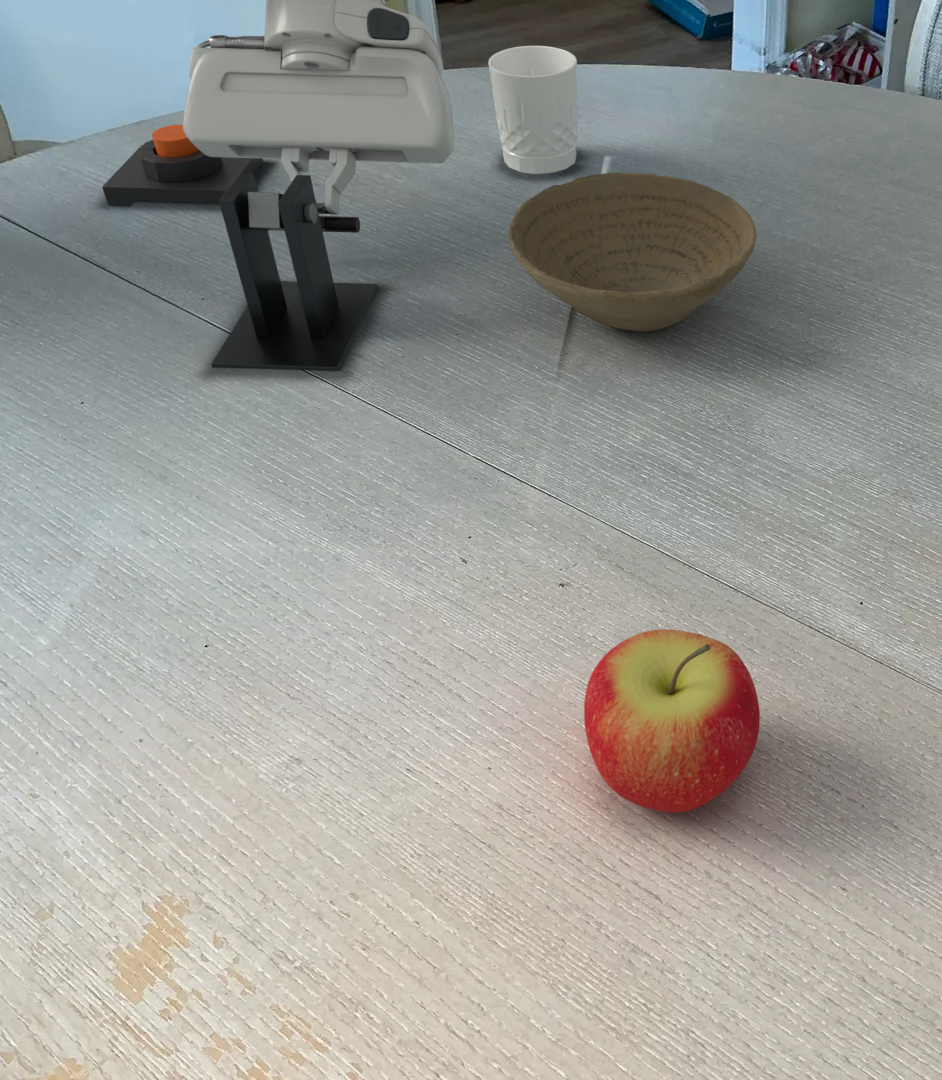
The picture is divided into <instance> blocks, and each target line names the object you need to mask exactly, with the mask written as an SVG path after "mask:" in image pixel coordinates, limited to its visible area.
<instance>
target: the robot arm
mask: <svg viewBox="0 0 942 1080" xmlns="http://www.w3.org/2000/svg"><path fill="white" fill-rule="evenodd" d="M264 19H265V21H264V34H263V35H241V36H229V35H225V34H214V35H211V36H209V38H208V40H204V41H202V42H200V43H199V44H198V45H197V46H196V47H194V48H193V49H192V51H191V53H190V58H189V79H190V80H189V85H188V88H187V94H186V99H185V104H184V111H183V119H182V125H183V130H184V133H185V134H186V136H187V137H188V139H189V140H190V141H191V142H192V143H193V144H194V145H195V146H196V147H197V148H198V149H199V150H200V151H201V152H203V153H204V154H205V155H207V156H209V157H228V158H263V159H264V160H265V159H269V160H275V159H276V160H280V162H281V164H282V166H283V168H284V170H285V172H286V174H287V175H288V177H289V180H290V181H291V182H292V181H293V179H294V178H295V176H296V175H303V174H302V173H308V172H309V167H310V161H311V160H312V161H328V162H329V164H330V165H331V166H332V167H333V169H332V170H331V172H330V174H329V175H328V177H327V178H326V180H325V182H324V184H322V185H321V184H320V185H318V184H314V185H313V184H312V186H313V190H314V195H315V199H316V204H317V208H318V213H319V215H339V212H340V195H341V194H342V193H343V192H344V191H345V189H346V187H347V186H348V185H349V184H350V182H351V181H352V179H353V178H354V176H355V175H356V165H357V164H356V163H357V162H373V163H374V162H375V163H377V162H379V163H411V164H413V163H414V164H443V163H444V162H445V161H447V159H448V158H449V157H450V156H451V154H452V153H453V151H454V143H455V142H454V140H455V139H454V138H455V137H454V135H455V133H454V130H455V129H454V115H453V107H452V100H451V96H450V91H449V90H448V88H447V86H446V83H445V82H444V80H443V77H442V75H443V71H444V63H443V56H442V53H441V51H440V48H439V47H440V46H439V45H438V44H437V41H436V39H435V37H434V36H433V34H432V32H431V31H430V29H429V28H428V26H427V25H426V23H425V22H424V21H423V20H422V19H420V18H418V17H417V16H414V15H411V14H408V13H405V12H402V11H399V10H397V9H394V8H391V7H388V6H386V1H385V0H265V18H264Z"/></svg>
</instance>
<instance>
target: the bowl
mask: <svg viewBox="0 0 942 1080" xmlns="http://www.w3.org/2000/svg"><path fill="white" fill-rule="evenodd" d="M757 234H758V233H757V229H756V226H755V222H754V220H753V218H752V216H751V215H750V214H749V213H748V211H746V210H745V208H744V207H743V206H742V205H741V204H740V203H738V202H737V201H736V200H735V199H734V198H732V197H731V196H728V195H726V194H725V193H723V192H722V191H719V190H716V189H713V188H712V187H709V186H708V185H707V186H706V185H703V184H701V183H698V182H696V181H694V180H689V179H685V178H680V177H674V176H669V175H659V174H655V173H646V172H645V173H644V172H643V173H642V172H604V173H598V174H593V175H592V174H591V175H585V176H580V177H576V178H574V179H573V180H570V181H568V182H565V183H561V184H553V185H551V186H549V187H545V189H543V190H541V191H540V192H538V193H537V194H535V195H534V196H532V197H529V198H528V199H527V200H525V201H523V202H522V204H521V205H520V206H519V207H518V208H517V209H516V211H515V213H514V216H513V218H512V219H511V221H510V222H509V228H508V232H507V237H508V242H509V247H510V250H511V252H512V254H513V256H514V257H515V259H516V261H517V262H518V263H519V265H520V266H521V267H522V268H523V270H525V272H526V273H527V274H528V275H529V277H531V278H532V279H533V281H535V282H536V283H537V284H538V285H539V286H540V287H541V288H543V289H545V290H546V291H547V292H548V293H550V294H551V295H553V296H555V297H556V298H558V299H560V300H561V301H563V302H564V303H566V304H568V305H569V306H571V307H573V308H574V309H575V310H577V311H578V312H579V313H580V314H582V315H583V316H585V317H586V318H588V319H590V320H592V321H593V322H596V323H598V324H601V325H604V326H608V327H612V328H615V329H620V330H626V331H631V332H632V331H633V332H655V331H660V330H664V329H666V328H668V327H670V326H672V325H675V324H677V323H679V322H680V321H682V320H684V319H685V318H687V317H688V316H690V315H691V314H693V313H694V312H695V311H696V310H697V309H698V308H700V307H701V306H702V305H704V304H705V303H706V302H708V301H709V300H710V299H712V298H713V297H714V296H716V294H718V293H719V292H721V290H723V289H724V288H725V287H726V286H728V285H729V284H730V283H731V282H732V281H733V280H734V279H735V278H736V277H737V275H739V273H740V272H741V271H742V270H743V268H744V267H745V265H746V264H747V262H748V261H749V259H750V258H751V256H752V254H753V253H754V250H755V247H756V242H757Z"/></svg>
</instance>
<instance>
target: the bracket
mask: <svg viewBox="0 0 942 1080" xmlns="http://www.w3.org/2000/svg"><path fill="white" fill-rule="evenodd" d="M312 185H313V182H312V177H311V175H309V174H302V175H296V176H295V178H294V179H293V181H291V182H290V184H289V185H288V187H287V188H286V190H285V191H284V192H283V193H282V194H283V196H282V197H281V199H280V200H279V202H278V205H279V209H280V214H281V218H282V222H283V226H284V230H285V231H284V234H285V239H286V242H287V247H288V250H289V255H290V260H291V263H292V267H293V271H294V276H295V280H296V281H294V280H293V281H292V280H290V281H289V280H281V278H280V274H279V270H278V265H277V262H276V257H275V254H274V250H273V245H272V241H271V238H270V233H269V231H264V230H259V229H254V228H250V227H249V217H248V192H259V190H258V186H257V182H256V179H255V174H248V173H240V174H239V175H238V176H237V178H236V179H235V180H234V181H233V183H232V184H231V185H230V187H229V188H228V189H227V191H226V192H225V193H224V195H223V196H222V197H221V199H220V200H219V204H218V205H219V208H220V211H221V214H222V218H223V221H224V225H225V229H226V232H227V236H228V240H229V243H230V246H231V251H232V254H233V259H234V262H235V265H236V269H237V271H238V276H239V279H240V283H241V287H242V291H243V295H244V297H245V302H246V304H247V306H246V307H245V309H244V311H243V313H242V314H241V316H240V317H239V318H238V321H237V322H236V323H235V325H234V326H233V329H232V330H231V332H230V333H229V334H228V336H227V338H226V340H225V341H224V343H223V345H222V346H221V347H220V349H219V351H218V352H217V353H216V355H215V357H214V359H212V362H211V368H213V369H215V368H216V369H219V368H220V369H249V370H251V369H253V370H282V371H283V370H285V371H286V370H287V371H315V372H317V371H318V372H319V371H321V372H339V370H340V368H341V366H342V364H343V363H344V360H345V358H346V356H347V353H348V352H349V349H350V347H351V345H352V343H353V342H354V339H355V337H356V335H357V333H358V330H359V328H360V326H361V323H362V322H363V320H364V317H365V315H366V314H367V312H368V310H369V307H370V305H371V303H372V301H373V298H374V297H375V295H376V292H377V290H378V288H379V285H378V284H377V283H364V282H363V283H362V282H359V283H358V282H334V277H333V274H332V273H333V272H332V268H331V264H330V259H329V254H328V251H327V246H326V245H327V244H326V241H325V237H324V232H323V231H322V227H321V222H320V218H319V216H320V214H319V213H318V208H317V204H316V199H315V195H314V190H313V186H312Z"/></svg>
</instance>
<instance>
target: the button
mask: <svg viewBox="0 0 942 1080" xmlns="http://www.w3.org/2000/svg"><path fill="white" fill-rule="evenodd" d="M151 137H152V140H153V141H154V144H155V148H156V151H157V154H158V156H161V157H181V156H187V155H191V154H193V153H195V152H198V151H199V149H198V148H197V147H196V146H195V145H194V144H193V143H192V142H191V141H190V140H189V139H188V137H187V136H186V134H185V133H184V130H183V124H172V125H166V126H163V127H159V128H157V129H156V130H154V131H153V132H152V133H151Z"/></svg>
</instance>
